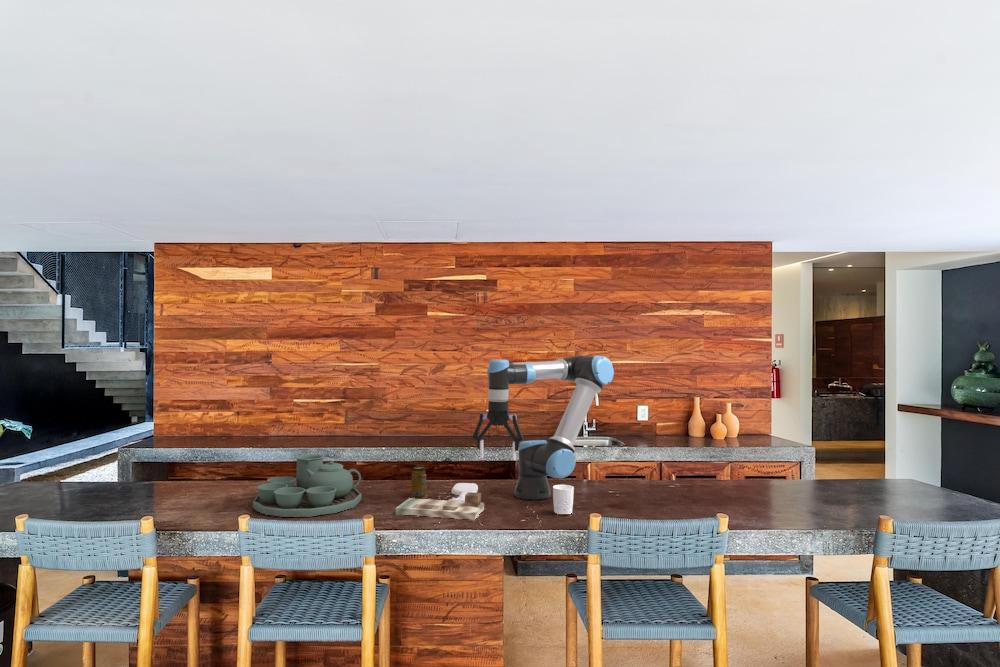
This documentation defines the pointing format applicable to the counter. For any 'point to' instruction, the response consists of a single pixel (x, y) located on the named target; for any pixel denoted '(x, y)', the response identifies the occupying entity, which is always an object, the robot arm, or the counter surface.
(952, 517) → the counter surface
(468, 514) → the trap deck
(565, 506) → the white cup
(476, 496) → the walnut block
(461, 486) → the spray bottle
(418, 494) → the condiment
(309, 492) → the tea set
